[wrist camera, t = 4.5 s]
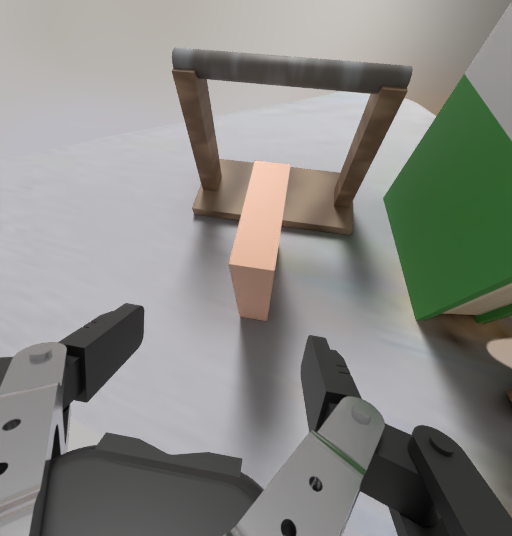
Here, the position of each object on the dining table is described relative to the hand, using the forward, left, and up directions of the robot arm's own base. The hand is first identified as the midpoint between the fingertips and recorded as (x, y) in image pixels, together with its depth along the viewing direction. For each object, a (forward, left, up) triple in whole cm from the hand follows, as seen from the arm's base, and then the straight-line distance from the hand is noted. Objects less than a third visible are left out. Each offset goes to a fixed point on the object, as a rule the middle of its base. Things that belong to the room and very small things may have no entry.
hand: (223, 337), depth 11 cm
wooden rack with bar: (0, +23, -14) cm, 27 cm away
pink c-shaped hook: (0, +10, -14) cm, 17 cm away
